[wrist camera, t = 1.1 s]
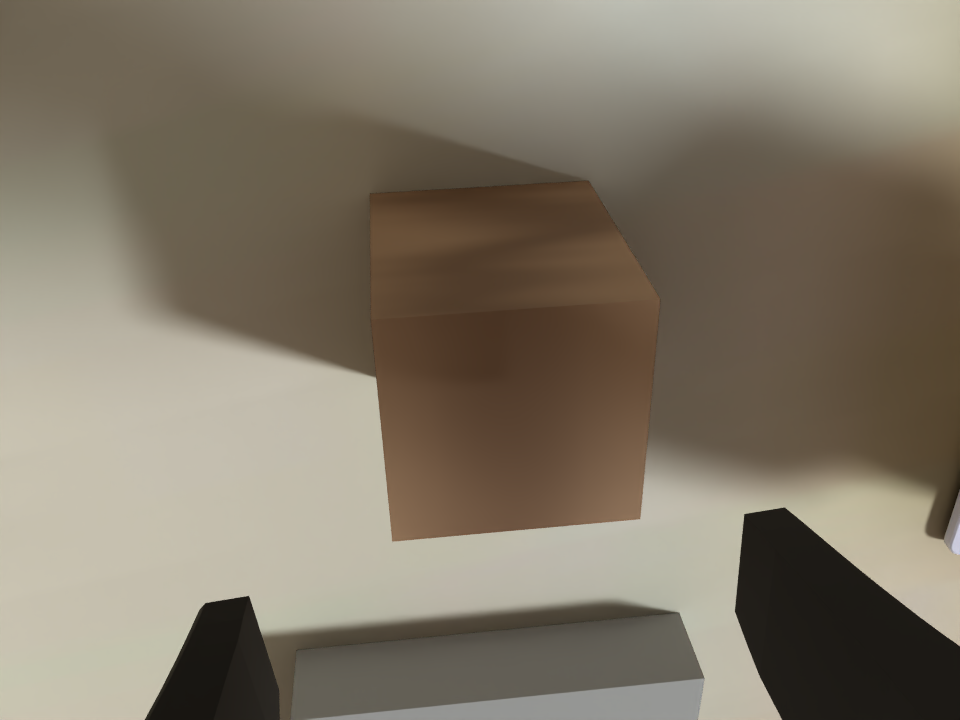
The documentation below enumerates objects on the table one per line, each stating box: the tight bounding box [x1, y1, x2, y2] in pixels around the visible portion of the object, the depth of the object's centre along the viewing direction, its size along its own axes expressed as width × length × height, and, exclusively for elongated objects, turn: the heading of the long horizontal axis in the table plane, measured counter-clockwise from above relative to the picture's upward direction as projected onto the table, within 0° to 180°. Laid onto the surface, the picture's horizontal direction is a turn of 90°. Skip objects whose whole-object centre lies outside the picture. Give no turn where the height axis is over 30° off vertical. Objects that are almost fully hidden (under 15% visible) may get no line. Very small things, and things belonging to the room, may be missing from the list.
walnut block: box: [370, 181, 660, 541], centre depth 19 cm, size 5×5×6 cm
